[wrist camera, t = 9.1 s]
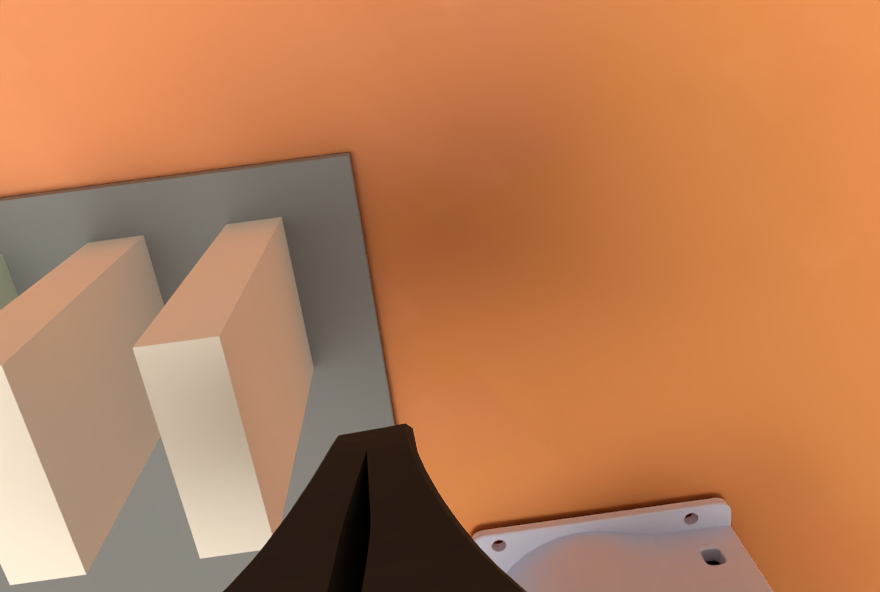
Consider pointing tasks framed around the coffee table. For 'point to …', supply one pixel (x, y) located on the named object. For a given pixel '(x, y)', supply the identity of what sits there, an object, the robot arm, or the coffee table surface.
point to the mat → (173, 257)
